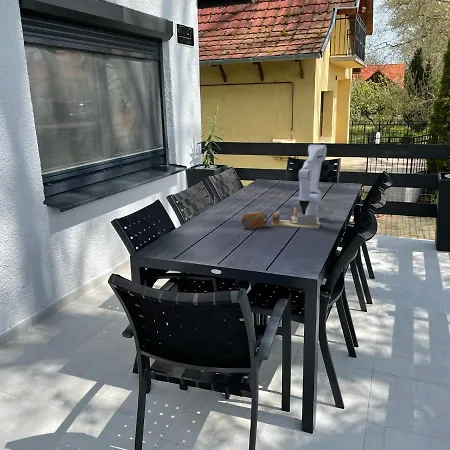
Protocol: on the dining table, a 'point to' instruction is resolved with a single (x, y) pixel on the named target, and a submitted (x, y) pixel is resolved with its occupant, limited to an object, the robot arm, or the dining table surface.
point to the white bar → (295, 218)
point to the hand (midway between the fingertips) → (304, 214)
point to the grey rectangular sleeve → (306, 219)
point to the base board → (294, 224)
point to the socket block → (276, 217)
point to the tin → (254, 220)
